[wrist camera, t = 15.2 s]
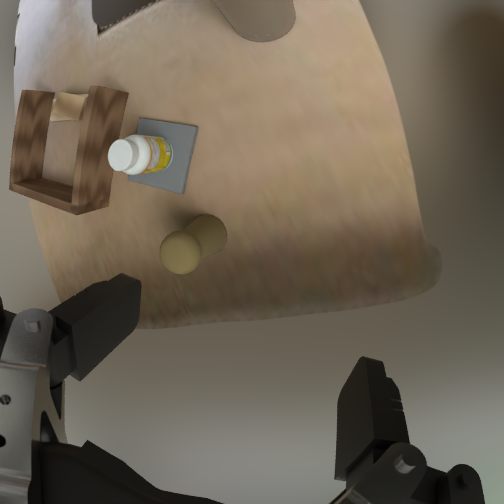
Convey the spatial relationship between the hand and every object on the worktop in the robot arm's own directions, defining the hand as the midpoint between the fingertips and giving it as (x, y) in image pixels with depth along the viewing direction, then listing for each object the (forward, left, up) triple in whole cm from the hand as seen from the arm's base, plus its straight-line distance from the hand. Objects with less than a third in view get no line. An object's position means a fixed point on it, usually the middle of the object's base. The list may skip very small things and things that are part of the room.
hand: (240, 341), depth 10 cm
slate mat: (-2, -22, -32) cm, 39 cm away
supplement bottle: (-2, -22, -32) cm, 39 cm away
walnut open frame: (-2, -42, -32) cm, 53 cm away
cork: (+8, -12, -32) cm, 35 cm away
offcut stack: (-8, -42, -32) cm, 53 cm away
